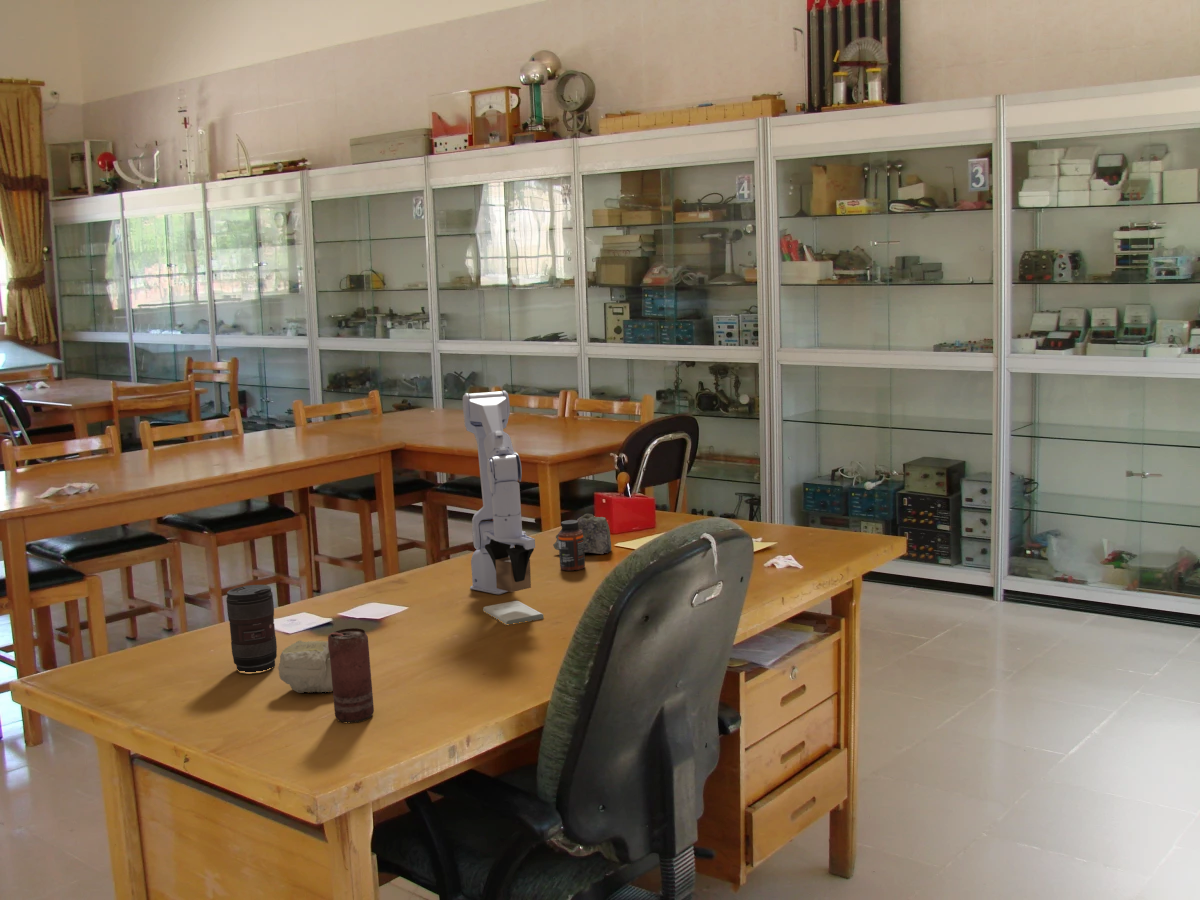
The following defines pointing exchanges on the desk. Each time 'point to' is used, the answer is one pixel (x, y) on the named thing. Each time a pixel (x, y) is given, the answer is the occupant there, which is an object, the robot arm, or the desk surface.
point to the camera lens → (252, 627)
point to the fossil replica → (306, 666)
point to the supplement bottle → (571, 546)
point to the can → (351, 675)
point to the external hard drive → (513, 612)
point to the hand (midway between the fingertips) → (511, 578)
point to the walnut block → (510, 576)
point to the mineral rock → (593, 534)
